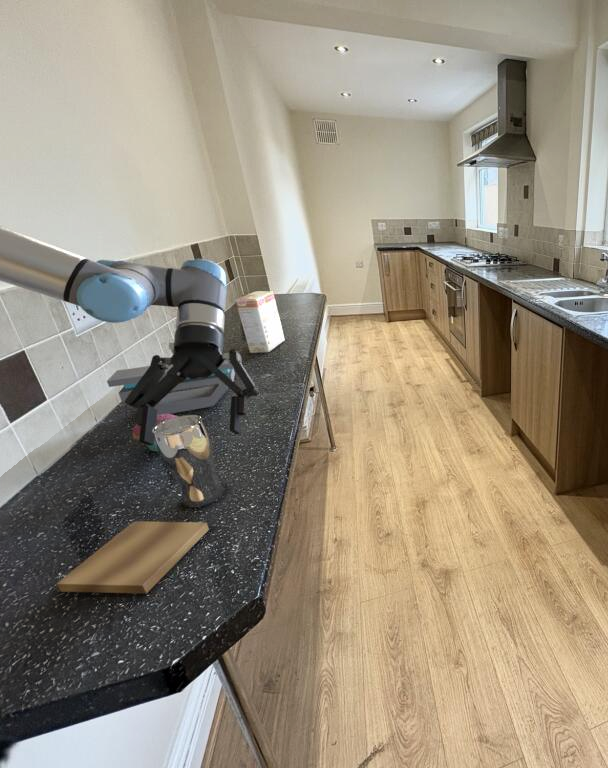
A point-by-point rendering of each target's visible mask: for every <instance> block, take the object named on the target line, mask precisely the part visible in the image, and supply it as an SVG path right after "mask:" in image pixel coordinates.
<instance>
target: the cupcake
mask: <svg viewBox="0 0 608 768" xmlns="http://www.w3.org/2000/svg"><path fill="white" fill-rule="evenodd" d="M174 417H178V415H174V414H173V413H172V414H158V415H157V421H156V425H157V424H159V423H161V422H163V421H165V420H168V419H171V418H174ZM140 429H141V426H139V425H137V423H135V426H133V428H132V430H131V431H132V437H133V439H134V440H137V441H139V437H140ZM144 445H145V446H146V447H147V448H148V449H149V450H150V451H151V452H159V451H158V448H157V445H156V441H155V439H154V445H146V444H144Z"/></svg>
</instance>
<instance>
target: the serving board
mask: <svg viewBox="0 0 608 768" xmlns="http://www.w3.org/2000/svg"><path fill="white" fill-rule="evenodd" d="M209 530H210V528H209V525H208V523H207V522H196V521H195V522H191V521H185V522H184V521H142V520H141V521H139V520H137V521H136V520H135V521H133V522H131V523H130V524H129V525H128V526H126V527H125V528H124V529H122V530H121V531H120V532H119V533H117V534H116V535H115V536H113V538H111V539H110V540H109V541H108V542H106V543H105V544H104V545H103V546H102V547H100V548H99V549H98V550H96V551H95V552H94V553H93V554H91V555H90V556H89V557H87V558H86V559H85V560H83V562H82V563H79V565H77V566H76V567H75V568H74V569H73V570H71V571H70V572H69V573H68V574H66V575H65V576H64V577H63V578H61V579H60V580H59V581H58V582H57V583H56V586H57V588H58V589H59V592H61V593H62V592H65V593H103V594H105V593H107V594H108V593H109V594H148V593H149V592H150V591H151V590H152V589H153V588H154V587H155V585H156V584H157V583H159V582H160V581H161V580H162V578H164V576H166V574H167V573H168V572H169V571H170V570H171V569H173V567H175V566H176V564H177V563H178V562H179V561H180V560H181V559H182V558H183V557H184V556H185V555H186V554H187V553H188V552H189V551H190V550H191V549H192V548H193V547H194V546H195V545H196V544H198V542H199V541H200V539H202V538H203V536H205V534H207V533H208V531H209Z"/></svg>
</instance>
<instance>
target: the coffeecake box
mask: <svg viewBox="0 0 608 768" xmlns="http://www.w3.org/2000/svg"><path fill="white" fill-rule="evenodd" d="M274 293H275V292H274V291H273V290H270V291H269V290H267V291H266V290H265V291H264V290H263V291H262V290H258V291H253V292H251V293H248V294H246V295H244V296H241V297H238V298H235V300H234V301H235V303H236V308H237V311H238V314H239V318H240V321H241V325H242V329H243V332H244V336H245V340H246V343H247V347H248V351H249V353H250V354H258V353H270V352H271V351H273V350H274V349H275V348H277V347H278V346H279V345H280V344H282V343H283V342H285V341H286V339H285V336H284V335H285V334H284V331H283V326H282V322H281V318H280V314H279V310H278V305H277V301H276V298H275V294H274Z"/></svg>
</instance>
